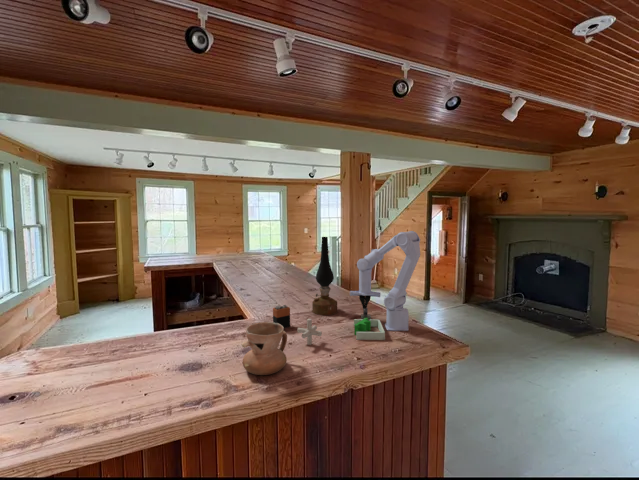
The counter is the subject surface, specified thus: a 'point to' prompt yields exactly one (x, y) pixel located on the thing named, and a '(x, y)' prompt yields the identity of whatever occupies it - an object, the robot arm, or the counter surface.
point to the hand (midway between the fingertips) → (364, 310)
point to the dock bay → (371, 335)
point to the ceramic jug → (265, 348)
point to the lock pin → (365, 311)
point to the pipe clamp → (362, 326)
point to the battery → (282, 315)
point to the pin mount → (366, 316)
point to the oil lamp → (324, 284)
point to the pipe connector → (309, 331)
